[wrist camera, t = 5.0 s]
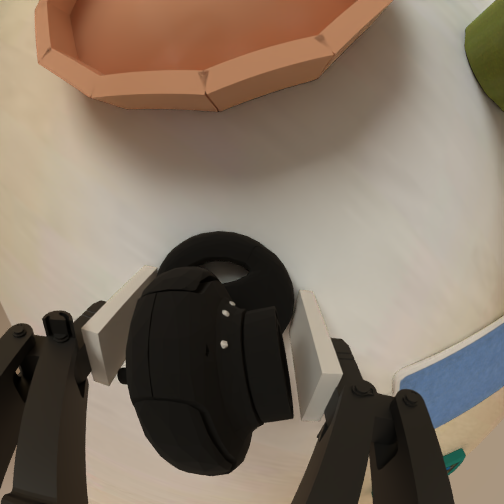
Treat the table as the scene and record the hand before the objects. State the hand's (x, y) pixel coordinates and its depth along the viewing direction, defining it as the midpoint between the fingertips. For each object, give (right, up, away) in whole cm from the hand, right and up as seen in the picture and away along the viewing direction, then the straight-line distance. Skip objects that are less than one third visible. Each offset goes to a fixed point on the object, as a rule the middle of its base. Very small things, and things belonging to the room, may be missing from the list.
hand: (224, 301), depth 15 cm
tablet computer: (+23, -9, +3) cm, 25 cm away
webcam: (0, 0, 0) cm, 1 cm away
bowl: (-1, +19, -6) cm, 20 cm away
